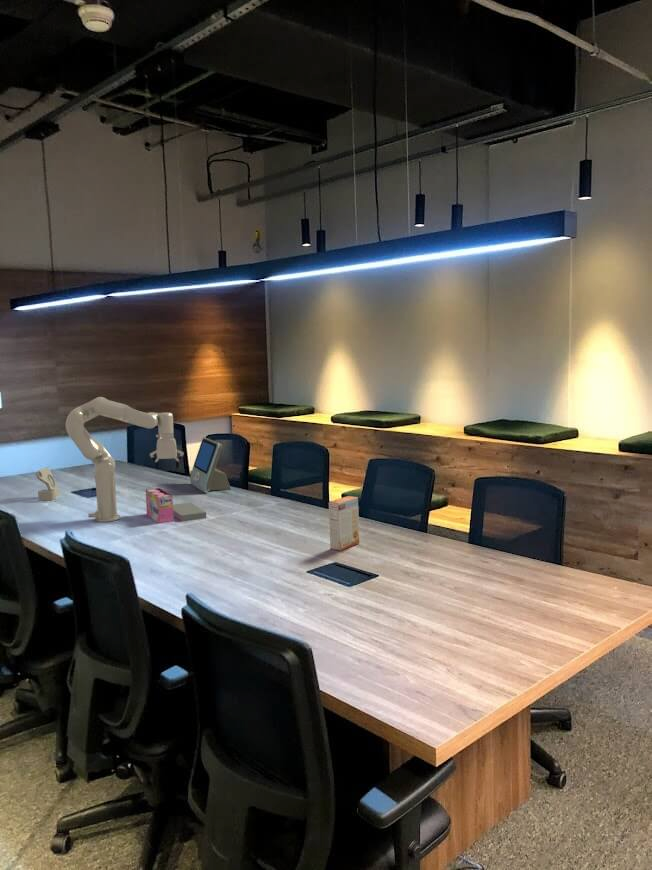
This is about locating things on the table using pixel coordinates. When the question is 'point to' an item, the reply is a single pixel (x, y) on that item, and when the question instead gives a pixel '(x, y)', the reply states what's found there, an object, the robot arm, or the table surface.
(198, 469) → the touchscreen device
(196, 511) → the base plinth
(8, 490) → the table surface
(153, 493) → the gum box
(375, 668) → the table surface
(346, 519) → the cracker box
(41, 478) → the phone holder
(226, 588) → the table surface
